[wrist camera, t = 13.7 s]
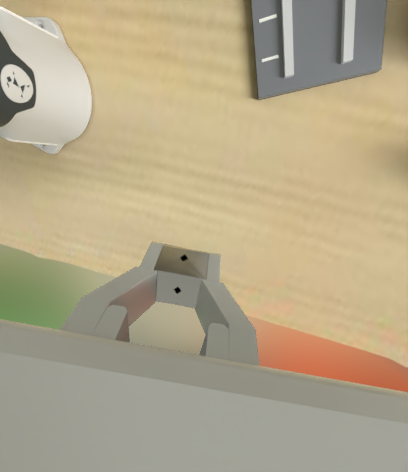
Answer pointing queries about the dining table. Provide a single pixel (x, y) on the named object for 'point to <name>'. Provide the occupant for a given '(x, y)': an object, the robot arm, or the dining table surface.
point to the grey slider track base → (315, 42)
